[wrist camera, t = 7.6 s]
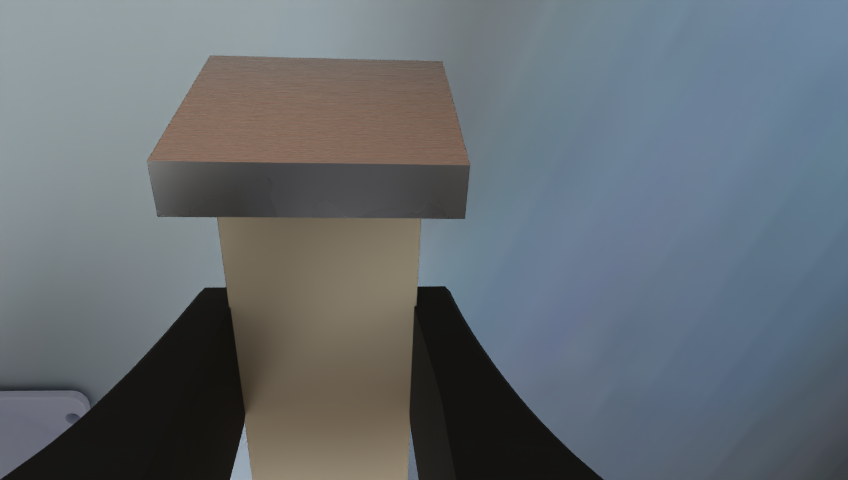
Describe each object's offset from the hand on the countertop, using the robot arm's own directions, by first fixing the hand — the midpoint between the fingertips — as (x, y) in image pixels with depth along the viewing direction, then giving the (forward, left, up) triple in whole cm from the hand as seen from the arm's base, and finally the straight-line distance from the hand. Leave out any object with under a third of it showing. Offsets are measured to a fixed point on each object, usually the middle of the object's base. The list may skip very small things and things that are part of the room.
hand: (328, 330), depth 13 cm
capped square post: (-1, 0, -2) cm, 3 cm away
